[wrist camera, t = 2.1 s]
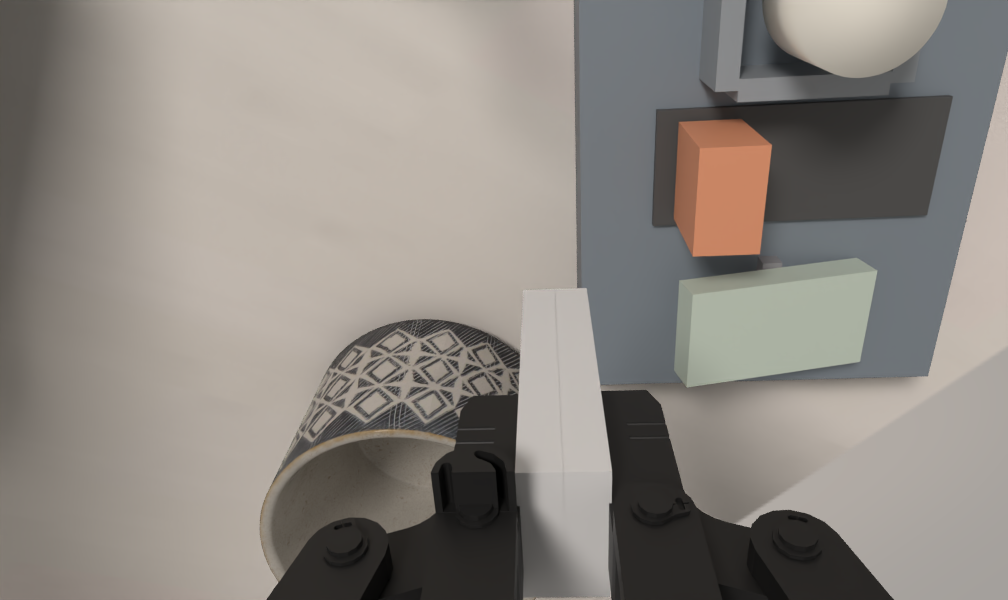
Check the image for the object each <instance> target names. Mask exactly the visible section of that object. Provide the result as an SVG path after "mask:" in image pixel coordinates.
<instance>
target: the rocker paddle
mask: <svg viewBox="0 0 1008 600" xmlns="http://www.w3.org/2000/svg"><path fill="white" fill-rule="evenodd" d="M876 276H877V270H876V269H874V268H873V267H871V266H869V265H868V264H866V263H865V262H863V261H861V260H860V259H858V258H851V259H843V260H835V261H827V262H820V263H812V264H804V265H796V266H788V267H781V268H773V269H765V270H757V271H749V272H742V273H734V274H726V275H718V276H710V277H703V278H695V279H687V280H679V294H678V311H677V328H676V346H675V363H674V371H675V373H676V374H677V375H678V377H679V378H680V379H681V381H682V382H683V383H684V385H685V386H686V388H688V387H694V386H701V385H708V384H715V383H721V382H728V381H735V380H741V379H748V378H755V377H762V376H768V375H775V374H782V373H789V372H795V371H802V370H809V369H816V368H822V367H829V366H836V365H842V364H849V363H856V362H860V359H861V353H862V348H863V343H864V338H865V333H866V328H867V322H868V317H869V312H870V307H871V302H872V297H873V291H874V286H875V281H876Z"/></svg>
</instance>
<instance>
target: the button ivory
mask: <svg viewBox="0 0 1008 600" xmlns="http://www.w3.org/2000/svg"><path fill="white" fill-rule="evenodd" d="M947 1H948V0H762V10H763V17H764V22H765V25H766V28H767V30H768V32H769V34H770V36H771V38H772V39H773V40H774V42H775V43H776V44H777V45H778V46H779V47H780V48H781V49H782V50H784V51H785V52H786V53H788V54H790V55H792V56H794V57H796V58H798V59H801V60H803V61H805V62H808V63H810V64H812V65H814V66H817V67H819V68H821V69H823V70H826V71H828V72H830V73H833V74H835V75H839V76H842V77H849V78H865V77H871V76H876V75H880V74H882V73H885V72H888V71H890V70H892V69H894V68H896V67H898V66H900V65H901V64H903V63H904V62H906V61H907V60H908V59H910V58H911V57H912V56H913V55H915V54H916V53H917V52H918V51H919V50H920V49H921V48H922V47H923V46H924V45H925V43H926V42H927V41H928V40H929V39H930V37H931V36H932V34H933V33H934V31H935V30H936V28H937V26H938V25H939V23H940V21H941V19H942V16H943V14H944V11H945V9H946V5H947Z"/></svg>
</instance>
